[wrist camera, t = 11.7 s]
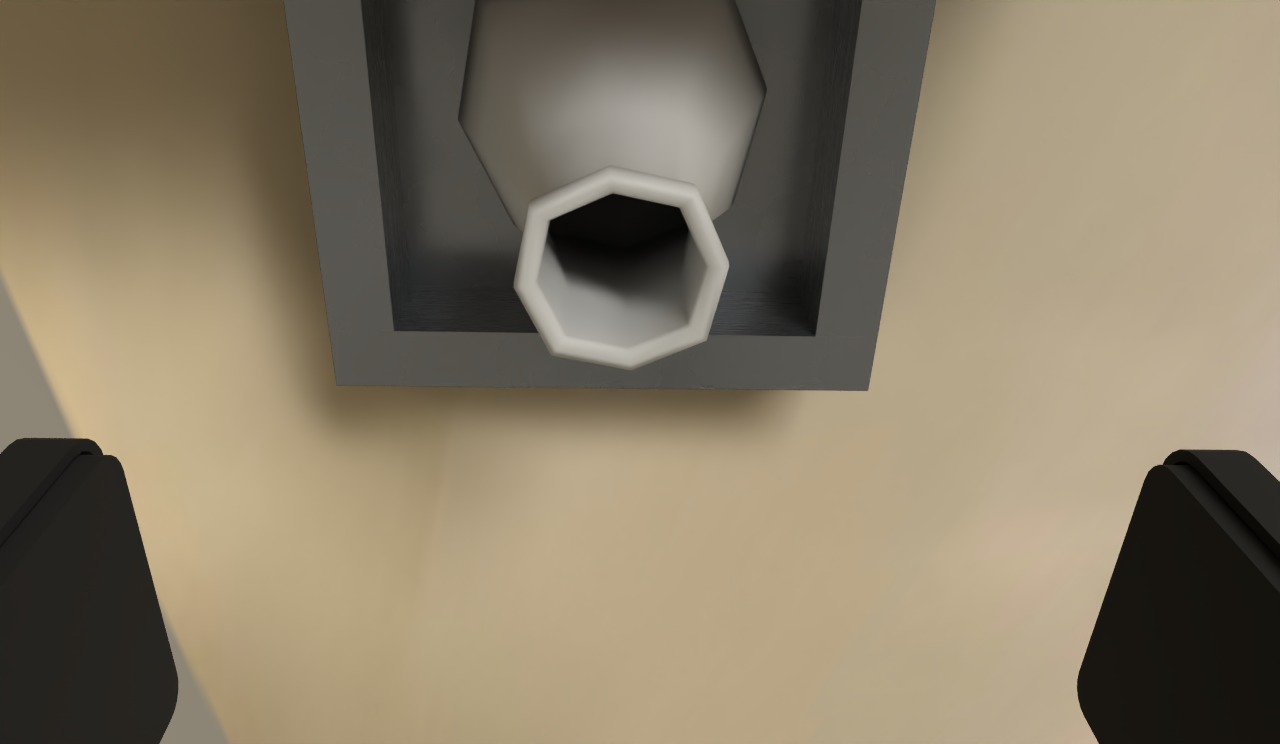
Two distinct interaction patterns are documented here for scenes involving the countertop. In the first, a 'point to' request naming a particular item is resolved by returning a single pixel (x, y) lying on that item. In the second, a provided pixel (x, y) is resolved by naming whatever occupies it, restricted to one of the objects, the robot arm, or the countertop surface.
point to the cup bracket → (489, 242)
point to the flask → (614, 162)
